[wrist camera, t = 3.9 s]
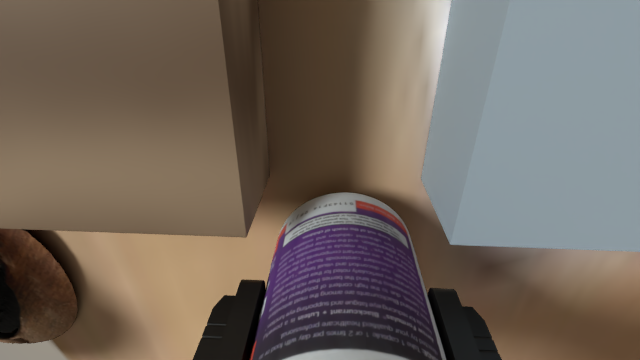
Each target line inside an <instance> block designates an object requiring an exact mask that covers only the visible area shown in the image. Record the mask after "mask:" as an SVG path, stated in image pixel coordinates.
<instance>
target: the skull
mask: <svg viewBox="0 0 640 360" xmlns="http://www.w3.org/2000/svg"><path fill="white" fill-rule="evenodd" d="M77 311H78V308H77V298H76V295H75V292H74V290H73V287H72V284H71V282H70V281H69V279H68V276H67V274H65V272H64V270H63V269H62V267H61V265H60V264H59V263H57V262H56V260H55V259H54V257H53V256H52V254H51V253H49V251H48V250H47V249H46V248H45V247H43V245H42V244H41V243H40V242H38V241H37V240H36V239H35V238H33V237H32V236H31V235H30V234H29V233H28V232H27V231H24V230H22V229H3V228H0V342H3V343H12V344H14V343H18V344H23V343H28V344H29V343H37V342H43V341H47V340H51V339H54V338H56V337H58V336H60V335H61V334H63V333H64V332H66V331H67V330H68V329H69V328H70V327H71V326H72V324H73V322H74V320H75V318H76V315H77Z"/></svg>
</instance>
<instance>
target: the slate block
mask: <svg viewBox="0 0 640 360" xmlns="http://www.w3.org/2000/svg"><path fill="white" fill-rule="evenodd" d="M421 180H422V182H423V185H424V187H425V189H426V191H427V194H428V196H429V198H430V200H431V203H432V205H433V207H434V209H435V212H436V214H437V216H438V218H439V221H440V223H441V225H442V227H443V230H444V232H445V234H446V236H447V239H448V241H449V243H450V245H469V246H496V247H524V248H551V249H579V250H606V251H634V252H640V0H452V3H451V9H450V14H449V20H448V26H447V32H446V38H445V43H444V49H443V55H442V61H441V67H440V72H439V78H438V84H437V90H436V96H435V101H434V107H433V113H432V119H431V125H430V130H429V136H428V142H427V148H426V154H425V159H424V165H423V171H422V177H421Z"/></svg>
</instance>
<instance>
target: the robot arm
mask: <svg viewBox="0 0 640 360" xmlns="http://www.w3.org/2000/svg"><path fill="white" fill-rule="evenodd" d="M265 291H266V289H265V282H264V280H241V282H240V284H239V287H238V290H237V293H236V296H227V295H224V296H223V297H222V299H221V300H220V301H219V302H218V303H217V304H216V305H215V306H214V308H213V309H212V312H211V315H210V317H209V320H208V322H207V326H206V327H205V330H204V332H203V335H202V339H201V340H200V343H199V345H198V348H197V350H196V353H195V355H194V358H193V360H249V359H250V355H251V351H252V346H253V342H254V337H255V333H256V329H257V325H258V320H259V315H260V312H261V308H262V303H263V299H264V294H265ZM428 299H429V303H430V306H431V309H432V313H433V316H434V319H435V323H436V326H437V329H438V333H439V336H440V339H441V343H442V346H443V350H444V353H445V356H446V360H502V359H501V357H500V355H499V354H498V352H497V351H498V350H497V348H496V346H495V343H494V341H493V340H492V336H491V334H490V332H489V330H488V327H487V325H486V323H485V321H484V320H483V319H482V317H481V316H480V315H479V314H478V313H477V312H476V311H475V310H474V308H473V307H463V306H462V305H461V303H460V300H459V298H458V295H457V293H456V291H455V290H454V289H441V288H430V289H429V292H428Z"/></svg>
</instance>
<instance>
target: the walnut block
mask: <svg viewBox="0 0 640 360" xmlns="http://www.w3.org/2000/svg"><path fill="white" fill-rule="evenodd" d="M269 176H270V169H269V154H268V140H267V126H266V112H265V97H264V83H263V69H262V55H261V40H260V26H259V12H258V0H0V228H3V229H30V230H58V231H85V232H113V233H140V234H168V235H195V236H222V237H247V235H248V232H249V229H250V227H251V224H252V221H253V219H254V216H255V213H256V211H257V208H258V205H259V203H260V200H261V197H262V195H263V192H264V189H265V187H266V184H267V181H268V179H269Z"/></svg>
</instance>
